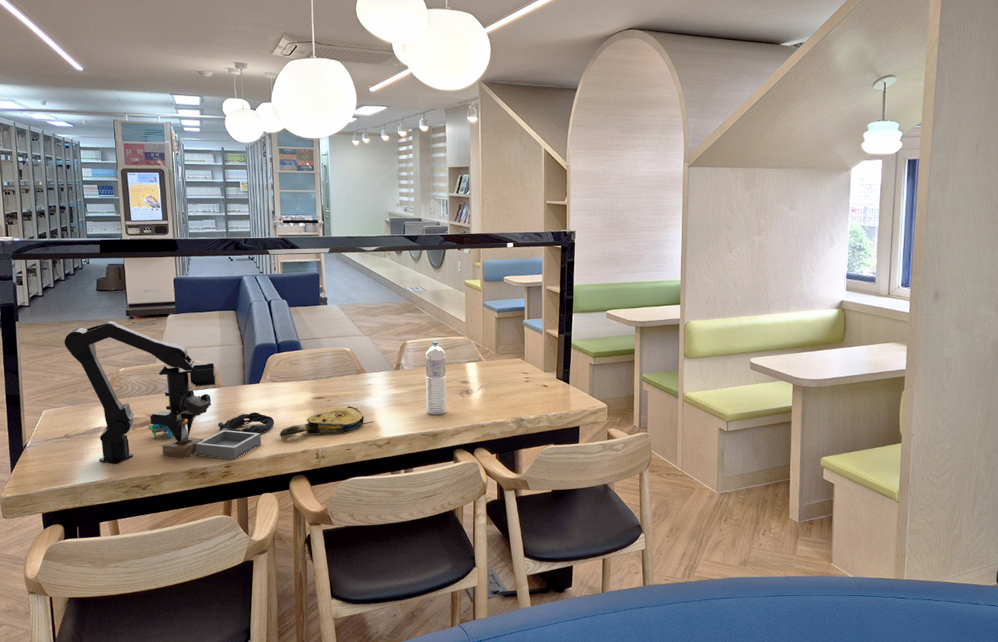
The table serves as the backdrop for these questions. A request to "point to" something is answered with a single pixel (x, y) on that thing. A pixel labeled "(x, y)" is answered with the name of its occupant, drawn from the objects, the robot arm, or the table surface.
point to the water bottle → (435, 380)
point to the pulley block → (329, 422)
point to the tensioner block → (180, 448)
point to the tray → (228, 444)
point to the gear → (159, 430)
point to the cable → (252, 417)
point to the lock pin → (184, 432)
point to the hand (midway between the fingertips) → (182, 438)
